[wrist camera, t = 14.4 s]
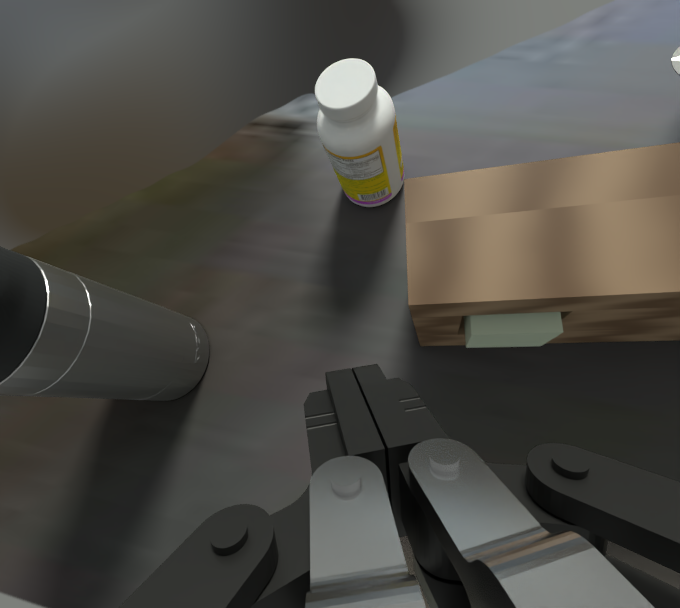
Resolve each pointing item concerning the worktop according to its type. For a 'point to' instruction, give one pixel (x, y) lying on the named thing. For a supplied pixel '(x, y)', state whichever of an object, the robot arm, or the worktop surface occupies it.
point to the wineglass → (676, 60)
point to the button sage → (512, 329)
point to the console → (550, 246)
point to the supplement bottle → (359, 132)
